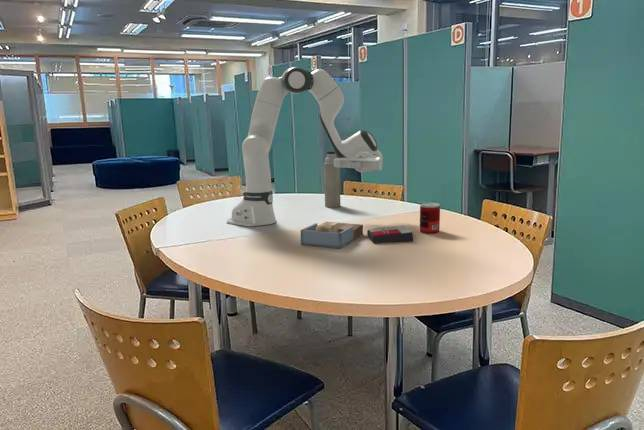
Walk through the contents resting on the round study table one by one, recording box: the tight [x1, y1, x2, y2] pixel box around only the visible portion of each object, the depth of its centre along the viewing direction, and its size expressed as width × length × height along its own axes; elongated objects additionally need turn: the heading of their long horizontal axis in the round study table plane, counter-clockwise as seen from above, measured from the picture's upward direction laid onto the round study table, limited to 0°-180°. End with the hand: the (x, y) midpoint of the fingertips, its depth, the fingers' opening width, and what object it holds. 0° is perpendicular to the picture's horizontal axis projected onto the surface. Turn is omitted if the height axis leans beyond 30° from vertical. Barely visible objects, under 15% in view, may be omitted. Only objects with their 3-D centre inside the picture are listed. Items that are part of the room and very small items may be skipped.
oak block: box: [316, 221, 339, 233], centre depth 185 cm, size 5×6×9 cm
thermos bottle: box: [323, 150, 341, 209], centre depth 253 cm, size 8×8×28 cm
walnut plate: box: [317, 221, 364, 242], centre depth 195 cm, size 16×10×4 cm, turn 64°
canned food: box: [419, 202, 441, 235], centre depth 198 cm, size 8×8×11 cm
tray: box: [300, 222, 354, 249], centre depth 185 cm, size 16×12×6 cm
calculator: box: [366, 225, 414, 244], centre depth 189 cm, size 11×4×15 cm
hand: (350, 165), depth 201 cm, fingers closed
